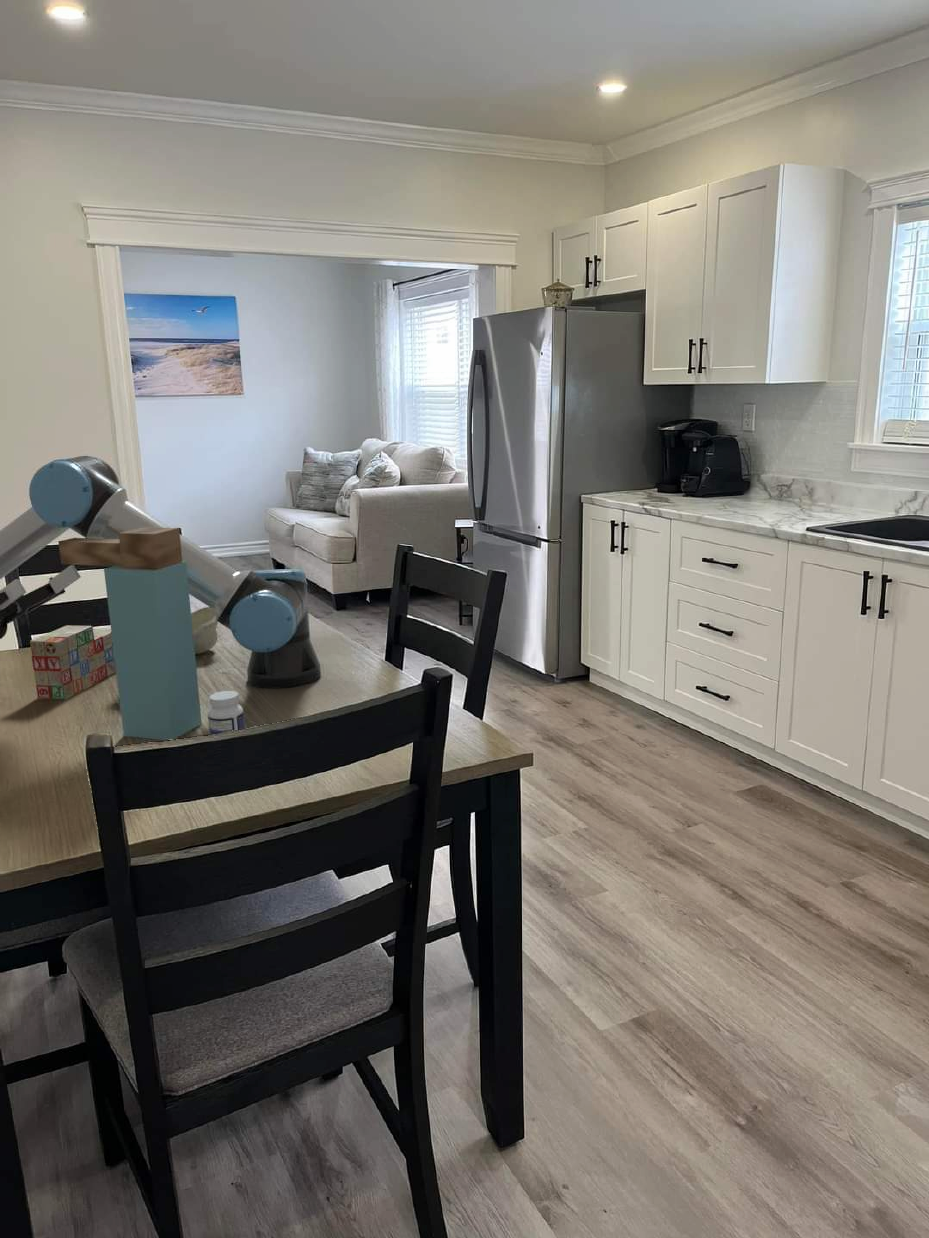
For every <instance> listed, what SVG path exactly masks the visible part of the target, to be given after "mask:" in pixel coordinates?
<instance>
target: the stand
mask: <svg viewBox="0 0 929 1238" xmlns="http://www.w3.org/2000/svg"><path fill="white" fill-rule="evenodd" d="M103 571H104V572H103V573H104V582H105V589H106V598H107V605H108V614H109V615H108V616H109V623H110V629H111V633H112V641H113V650H114V658H115V666H116V673H115V674H116V681H117V691H118V698H119V707H120V716H121V722H122V723H121V724H122V731H123V733H122V734H123V737H130V738H131V737H132V738H140V739H141V738H142V739H150V740H160V741H167V740H169V739H175V740H176V739H178V738H179V737H178V736H180V737H182V736H183V735H185V734H187V733H188V732H190V731H191V730H193V729H195V728H196V727H198V726H199V725H201V724H203V723H202V722H203V721H202V714H201V701H200V694H199V693H200V691H199V682H198V671H197V661H196V654H195V650H194V639H193V629H192V619H191V613H192V610H191V600H190V594H189V588H188V578H187V568H186V561H182V563H179V564H175V565H172V566H169V567H165V568H162V569H159V570H150V569H126V568H122V566H108V567H106V568H104V569H103Z"/></svg>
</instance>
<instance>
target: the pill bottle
mask: <svg viewBox="0 0 929 1238" xmlns="http://www.w3.org/2000/svg"><path fill="white" fill-rule="evenodd" d="M239 696H240V695H239V693H238V691H234V690H224V691H222V690H221V691H218V692H214V693H212V694H211V695H209V696H208V697H209V704H210V705H211V708H209V709H208V712H207V717H208V718H207V719H208V729H209V730H208V731H209V735H212V734H218V733H222V732H227V731H232V730H243V729H245V730H246V727H245V716H244V709H243V707H242V706H241V705H240V704H238V703H239V701H240V697H239Z"/></svg>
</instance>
